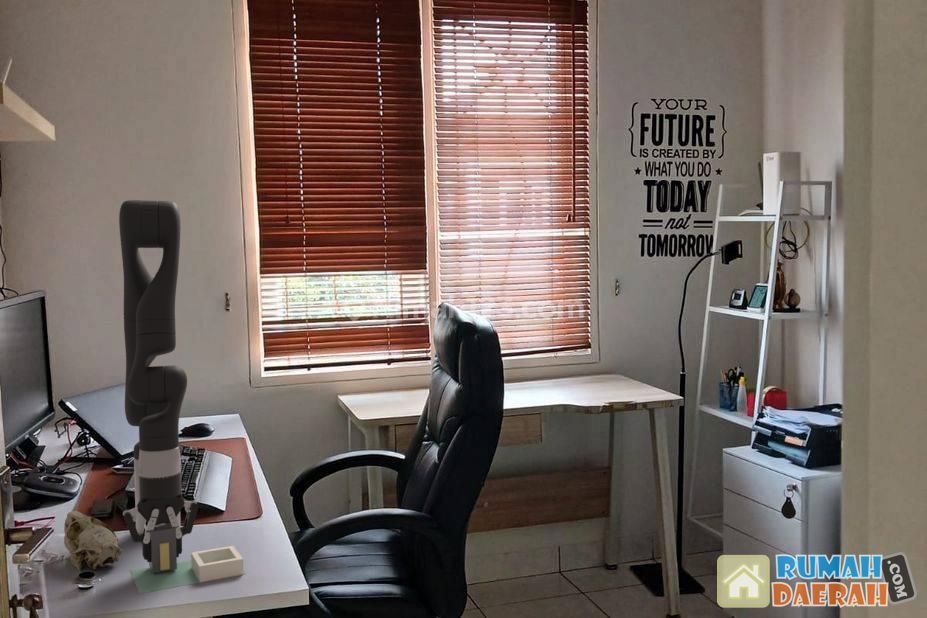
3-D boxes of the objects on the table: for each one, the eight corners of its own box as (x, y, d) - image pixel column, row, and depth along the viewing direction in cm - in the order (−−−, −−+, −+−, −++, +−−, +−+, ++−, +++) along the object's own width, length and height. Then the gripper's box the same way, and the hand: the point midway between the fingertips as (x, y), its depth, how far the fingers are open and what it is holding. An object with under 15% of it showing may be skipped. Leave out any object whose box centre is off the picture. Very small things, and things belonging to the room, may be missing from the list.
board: (130, 576, 161) (130, 570, 161) (231, 558, 170) (231, 553, 170) (139, 598, 151) (139, 593, 150) (246, 578, 160) (246, 573, 159)
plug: (149, 565, 162) (147, 524, 162) (172, 561, 164) (171, 521, 164) (152, 574, 158) (151, 532, 157) (177, 570, 160) (176, 528, 160)
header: (191, 567, 162) (191, 552, 162) (233, 560, 166) (233, 545, 166) (199, 582, 155) (199, 566, 155) (243, 574, 159) (243, 558, 159)
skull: (90, 539, 176) (94, 497, 173) (130, 579, 166) (134, 535, 163) (43, 554, 168) (46, 510, 165) (81, 596, 159) (85, 550, 156)
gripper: (195, 461, 167) (197, 546, 168) (117, 470, 160) (120, 558, 161) (202, 470, 160) (204, 558, 161) (122, 480, 153) (124, 572, 155)
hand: (162, 558), depth 161 cm, fingers closed on plug, 4 cm apart
